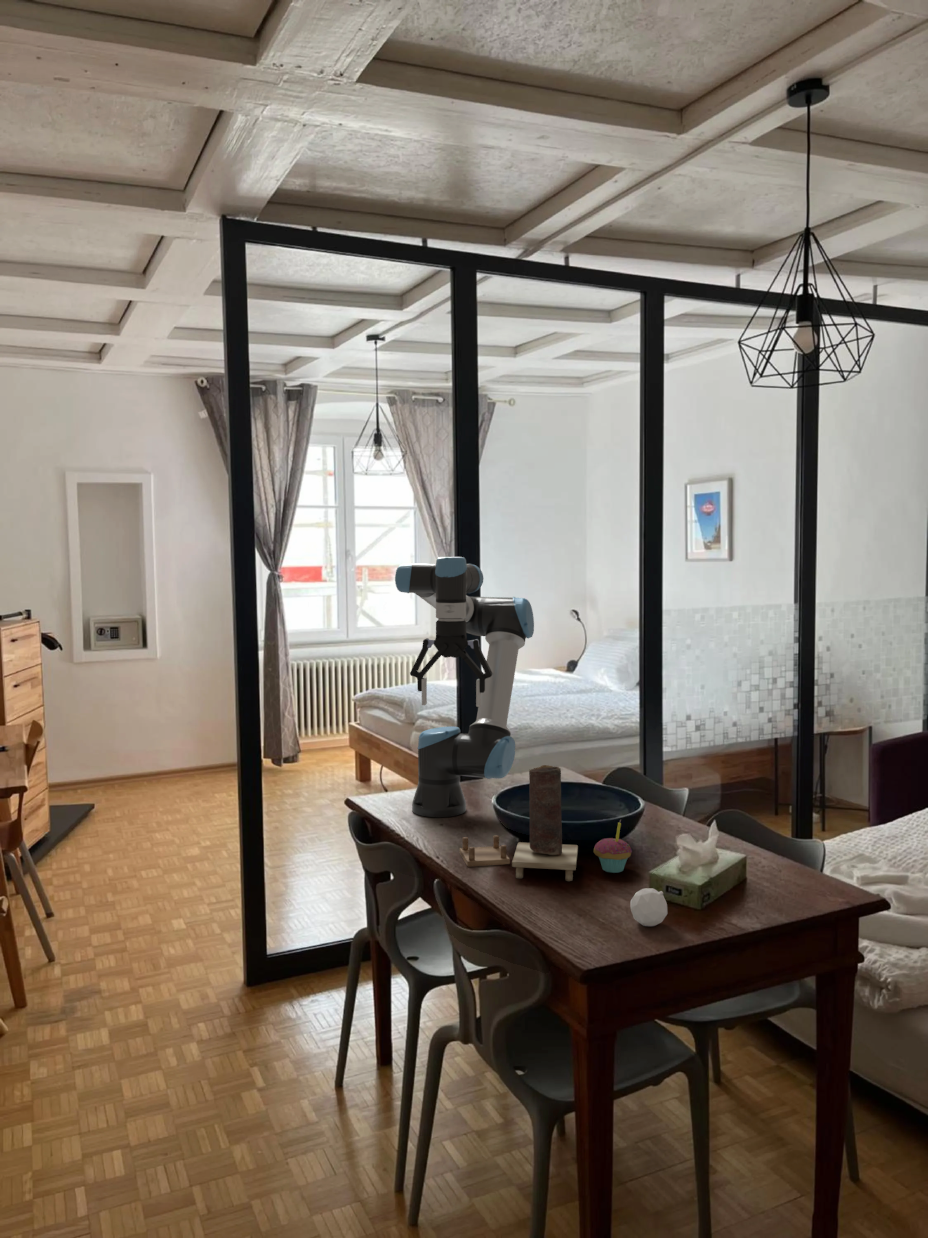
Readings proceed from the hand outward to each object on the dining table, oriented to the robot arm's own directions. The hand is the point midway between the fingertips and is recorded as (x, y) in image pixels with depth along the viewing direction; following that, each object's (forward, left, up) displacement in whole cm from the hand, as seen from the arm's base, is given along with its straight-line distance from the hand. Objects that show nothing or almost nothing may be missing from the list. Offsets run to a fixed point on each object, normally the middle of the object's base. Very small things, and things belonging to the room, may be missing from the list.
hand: (451, 705), depth 234 cm
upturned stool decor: (+11, +10, -35) cm, 38 cm away
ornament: (+45, +47, -35) cm, 74 cm away
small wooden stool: (+17, +25, -35) cm, 46 cm away
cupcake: (+14, +40, -35) cm, 55 cm away
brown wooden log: (+17, +25, -31) cm, 43 cm away
